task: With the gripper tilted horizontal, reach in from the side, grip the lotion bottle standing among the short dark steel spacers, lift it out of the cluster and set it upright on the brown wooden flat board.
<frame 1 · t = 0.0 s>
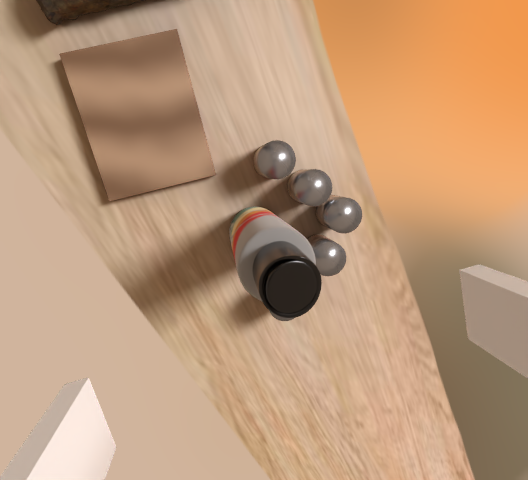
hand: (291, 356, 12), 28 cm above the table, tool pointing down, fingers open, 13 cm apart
brown wooden flat board: (144, 119, 36), on the table
steel spacers: (254, 231, 40), on the table
lotion bottle: (254, 230, 40), on the table
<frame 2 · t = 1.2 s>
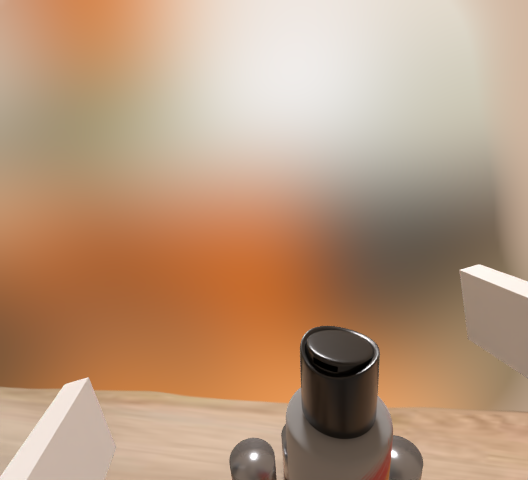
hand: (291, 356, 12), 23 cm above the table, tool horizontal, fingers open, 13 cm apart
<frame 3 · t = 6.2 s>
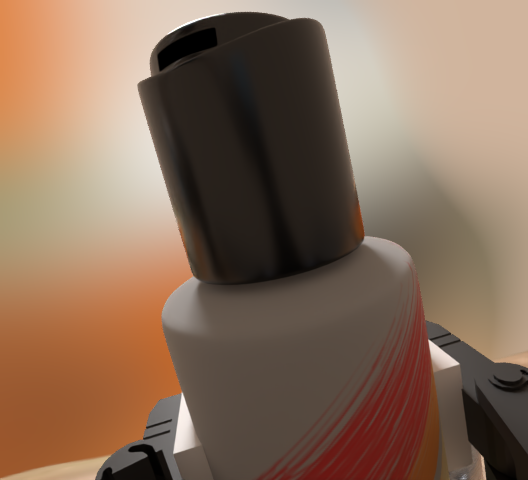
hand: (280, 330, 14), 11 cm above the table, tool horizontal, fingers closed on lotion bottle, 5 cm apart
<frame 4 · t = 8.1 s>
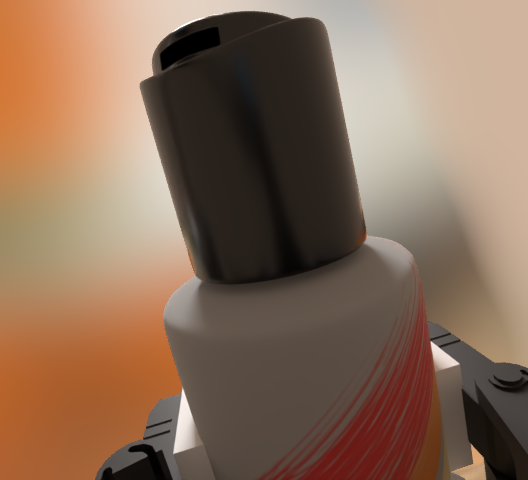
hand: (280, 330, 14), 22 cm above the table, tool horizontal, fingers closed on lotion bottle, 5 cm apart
when the fingers open (13 cm above the table, at t = 11.0 s): lotion bottle drops 1 cm, resting on brown wooden flat board.
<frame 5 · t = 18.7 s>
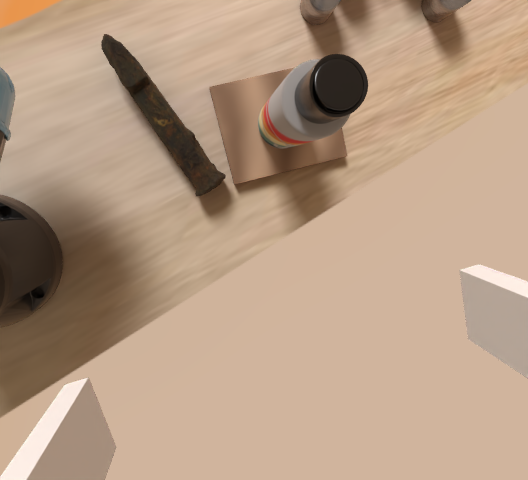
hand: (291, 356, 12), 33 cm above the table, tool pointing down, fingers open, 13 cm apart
hand tool: (161, 122, 41), on the table
brown wooden flat board: (279, 124, 43), on the table
steel spacers: (378, 27, 42), on the table
lotion bottle: (281, 124, 42), point 1 cm above the table, touching brown wooden flat board
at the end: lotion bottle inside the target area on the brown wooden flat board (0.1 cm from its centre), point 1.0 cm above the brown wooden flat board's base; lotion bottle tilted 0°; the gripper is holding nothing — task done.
